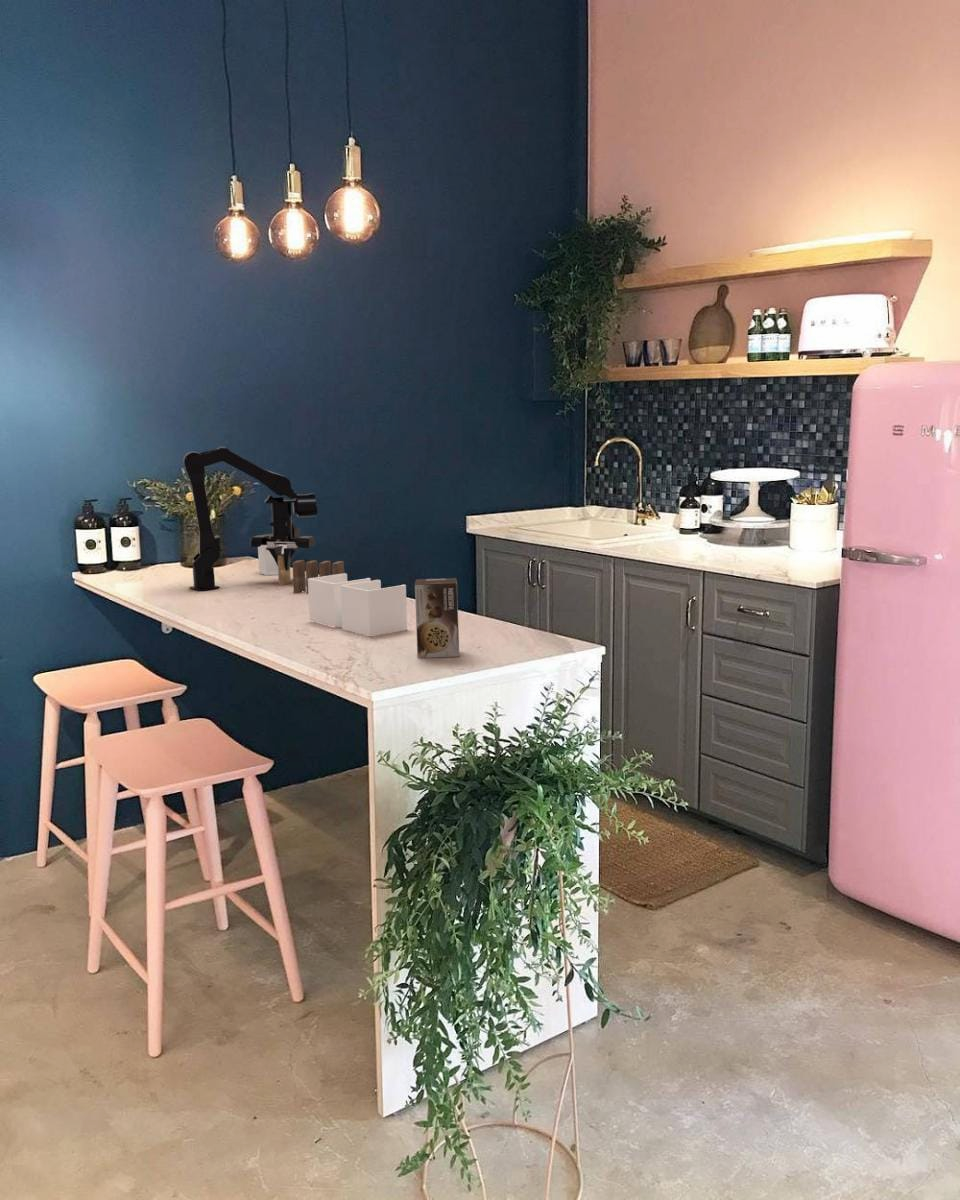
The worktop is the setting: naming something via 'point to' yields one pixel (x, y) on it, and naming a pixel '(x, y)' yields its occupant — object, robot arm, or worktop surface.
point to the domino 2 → (299, 576)
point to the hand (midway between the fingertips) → (284, 570)
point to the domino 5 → (338, 567)
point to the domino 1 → (283, 571)
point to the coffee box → (437, 618)
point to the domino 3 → (311, 570)
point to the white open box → (357, 605)
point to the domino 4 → (325, 568)
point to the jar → (267, 560)
